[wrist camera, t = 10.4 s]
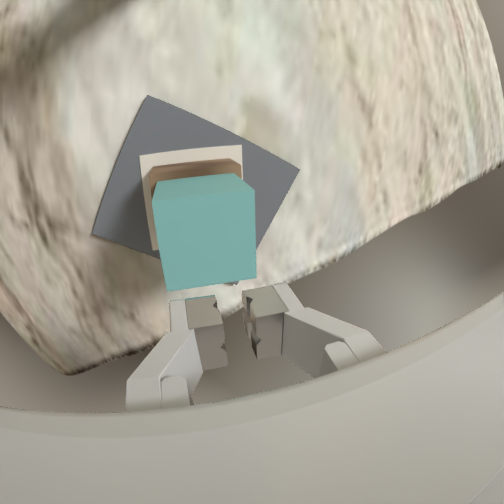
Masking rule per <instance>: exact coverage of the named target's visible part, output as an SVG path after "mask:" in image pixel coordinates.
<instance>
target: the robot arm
mask: <svg viewBox="0 0 504 504" xmlns="http://www.w3.org/2000/svg"><path fill="white" fill-rule="evenodd" d="M242 302H243V304H244V307H245V309H244V311H243V320H244V325H245V330H246V333H247V336H248V337H249V338H250V339H251V344H252V348H253V351H254V354H255V356H256V358H257V360H258V359H264V358H269V357H274V356H279V355H282V356H283V357H284V358H285V359H287V360H289V361H290V362H291V363H293V364H294V365H296V366H298V367H299V368H300V369H302V370H304V371H305V372H306V373H308V374H310V375H311V376H313V377H314V378H313V379H310V380H307V381H303V382H300V383H296V384H292V385H289V386H285V387H281V388H278V389H274V390H269V391H265V392H261V393H257V394H252V395H248V396H243V397H238V398H233V399H228V400H223V401H217V402H211V403H205V404H199V405H194V403H193V400H192V397H191V396H192V394H193V392H194V389H195V388H196V386H197V383H198V381H199V379H200V377H201V375H202V373H203V371H204V370H208V369H214V368H219V367H224V366H228V361H227V353H226V349H225V345H224V342H225V336H224V328H223V322H222V319H221V315H220V311H219V309H218V308H217V301H216V297H215V295H211V296H203V297H195V298H188V299H180V300H173V301H170V303H169V309H170V330H171V332H169V333H166V334H165V335H164V336H163V337H162V339H161V340H160V341H159V342H158V343H157V345H156V346H155V347H154V348H153V349H152V351H151V352H150V353H149V355H148V356H147V357H146V358H145V359H144V361H143V362H142V363H141V364H140V365H139V366H138V368H137V369H136V370H135V371H134V373H133V374H132V375H131V376H130V378H129V379H128V380H127V390H126V412H113V413H68V412H49V411H36V410H26V409H17V408H9V407H3V406H0V504H504V291H503V292H501V293H500V294H498V295H496V296H495V297H494V298H492V299H490V300H489V301H487V302H485V303H484V304H482V305H480V306H479V307H477V308H475V309H474V310H472V311H470V312H468V313H467V314H465V315H463V316H461V317H459V318H458V319H456V320H454V321H452V322H450V323H448V324H446V325H444V326H442V327H441V328H439V329H437V330H435V331H433V332H431V333H429V334H427V335H424V336H422V337H420V338H418V339H416V340H414V341H412V342H409V343H407V344H405V345H403V346H400V347H398V348H396V349H393V350H391V351H389V352H386V351H385V350H384V349H383V348H382V347H381V345H380V344H379V343H378V342H377V341H376V340H375V339H374V337H373V336H372V335H371V334H370V333H369V331H367V330H364V329H362V328H359V327H356V326H354V325H351V324H349V323H346V322H343V321H341V320H339V319H336V318H334V317H331V316H328V315H326V314H323V313H321V312H319V311H316V310H314V309H311V308H309V307H308V308H304V307H303V306H302V304H301V303H300V301H299V300H298V299H297V297H296V296H295V294H294V293H293V292H292V290H291V289H290V287H289V286H288V285H287V283H285V282H284V283H279V284H274V285H271V286H266V287H260V288H255V289H250V290H244V291H242Z"/></svg>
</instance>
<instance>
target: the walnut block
mask: <svg viewBox="0 0 504 504" xmlns="http://www.w3.org/2000/svg"><path fill="white" fill-rule="evenodd" d="M228 173H235V174H236V175H237V176H238V177H240V178H241V179H242V173H241V165H240V164H239V163H237V162H235V161H234V160H232V159H230V158H225V159H213V160H202V161H193V162H184V163H175V164H167V165H160V166H153V168H152V170H151V172H150V174H149V181H150V189H151V197H152V199H153V195H154V191H155V188H156V184H157V182H158V181H165V180H173V179H180V178H189V177H198V176H207V175H217V174H228Z"/></svg>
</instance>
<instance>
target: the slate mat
mask: <svg viewBox="0 0 504 504" xmlns="http://www.w3.org/2000/svg"><path fill="white" fill-rule="evenodd" d="M225 158H230V159H232V160H234V161H235V162H237V163H239V164H240V165H241V173H242V180H243V181H244V182H246V183H247V184H248V185H249V186H251V187H252V188H253V189H254V190H255V229H256V249H257V247H258V245H259V244H260V242H261V240H262V238H263V236H264V235H265V233H266V231H267V229H268V227H269V225H270V224H271V222H272V220H273V218H274V216H275V214H276V213H277V211H278V209H279V207H280V205H281V204H282V202H283V200H284V198H285V196H286V194H287V193H288V191H289V189H290V187H291V185H292V183H293V182H294V180H295V178H296V176H297V174H298V172H299V171H300V169H298V168H297V167H295V166H293V165H291V164H290V163H288V162H286V161H284V160H283V159H281V158H279V157H277V156H275V155H274V154H272V153H270V152H268V151H266V150H264V149H263V148H261V147H259V146H257V145H255V144H253V143H251V142H249V141H247V140H245V139H244V138H242V137H240V136H238V135H236V134H234V133H232V132H230V131H228V130H226V129H224V128H221V127H219V126H217V125H215V124H213V123H211V122H209V121H207V120H205V119H202V118H200V117H198V116H196V115H194V114H192V113H189V112H187V111H185V110H182V109H180V108H178V107H176V106H173V105H171V104H168V103H166V102H164V101H161V100H159V99H156V98H154V97H151V96H149V95H147V97H146V99H145V101H144V103H143V105H142V107H141V109H140V111H139V113H138V115H137V117H136V119H135V121H134V123H133V125H132V127H131V129H130V132H129V134H128V136H127V138H126V141H125V143H124V145H123V148H122V150H121V152H120V155H119V157H118V160H117V162H116V165H115V167H114V170H113V172H112V175H111V178H110V180H109V183H108V186H107V189H106V191H105V194H104V197H103V200H102V203H101V206H100V209H99V212H98V216H97V219H96V222H95V225H94V229H93V232H92V234H94V235H97V236H100V237H102V238H105V239H107V240H110V241H113V242H115V243H118V244H121V245H123V246H126V247H129V248H132V249H134V250H137V251H140V252H143V253H145V254H148V255H151V256H154V257H156V258H159V259H161V257H160V252H159V246H158V240H157V234H156V228H155V221H154V215H153V208H152V197H151V189H150V181H149V174H150V172H151V170H152V168H153V166H160V165H167V164H175V163H184V162H193V161H202V160H213V159H225ZM238 282H239V281H234V282H230V283H233V284H236V285H237V284H238Z"/></svg>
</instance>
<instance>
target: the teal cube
mask: <svg viewBox="0 0 504 504" xmlns="http://www.w3.org/2000/svg"><path fill="white" fill-rule="evenodd" d="M152 208H153V215H154V221H155V228H156V234H157V240H158V246H159V252H160V257H161V263H162V268H163V273H164V278H165V283H166V288H167V291H174V290H181V289H188V288H195V287H202V286H208V285H215V284H221V283H228V282H234V281H240V280H247V279H253V278H256V229H255V190H254V189H253V188H252V187H251V186H249V185H248V184H247V183H246V182H244V181H243V180H242V179H241V178H240V177H238V176H237V175H236V174H235V173H228V174H217V175H207V176H198V177H189V178H180V179H173V180H165V181H158V182H157V184H156V188H155V191H154V195H153V199H152Z"/></svg>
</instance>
